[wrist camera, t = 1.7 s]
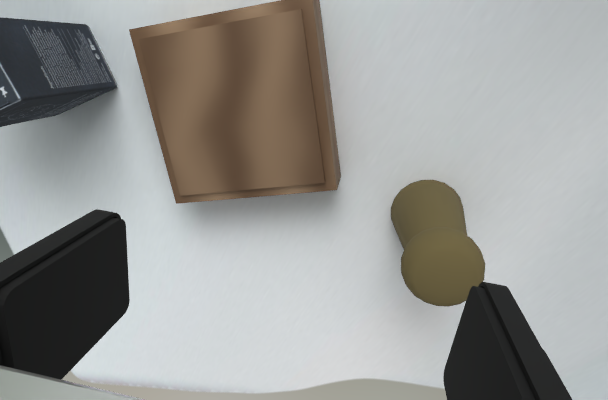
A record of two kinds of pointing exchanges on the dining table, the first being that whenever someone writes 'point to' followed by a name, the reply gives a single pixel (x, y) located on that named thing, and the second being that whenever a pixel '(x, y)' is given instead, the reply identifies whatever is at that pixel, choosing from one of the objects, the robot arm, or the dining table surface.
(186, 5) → the dining table surface
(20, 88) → the box
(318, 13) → the walnut plinth
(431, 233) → the cork
